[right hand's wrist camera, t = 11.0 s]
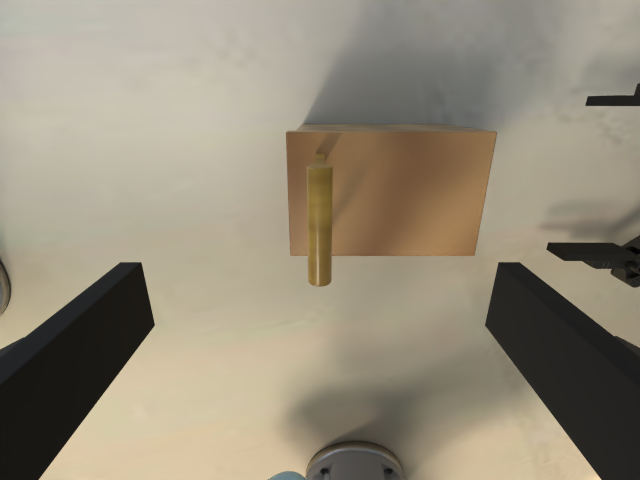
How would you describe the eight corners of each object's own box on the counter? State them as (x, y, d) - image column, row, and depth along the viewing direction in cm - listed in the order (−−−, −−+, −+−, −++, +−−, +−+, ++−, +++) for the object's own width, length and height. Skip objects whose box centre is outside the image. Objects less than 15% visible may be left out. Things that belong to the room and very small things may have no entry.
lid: (291, 250, 29) (280, 305, 21) (287, 130, 25) (272, 142, 17) (468, 250, 29) (525, 305, 21) (489, 130, 25) (568, 142, 17)
